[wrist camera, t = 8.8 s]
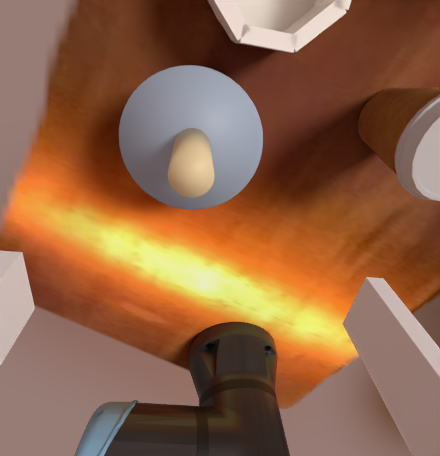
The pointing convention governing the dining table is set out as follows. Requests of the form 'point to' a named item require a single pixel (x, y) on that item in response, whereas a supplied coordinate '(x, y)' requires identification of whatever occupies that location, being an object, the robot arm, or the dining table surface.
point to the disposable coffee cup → (406, 136)
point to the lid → (190, 137)
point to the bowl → (277, 21)
